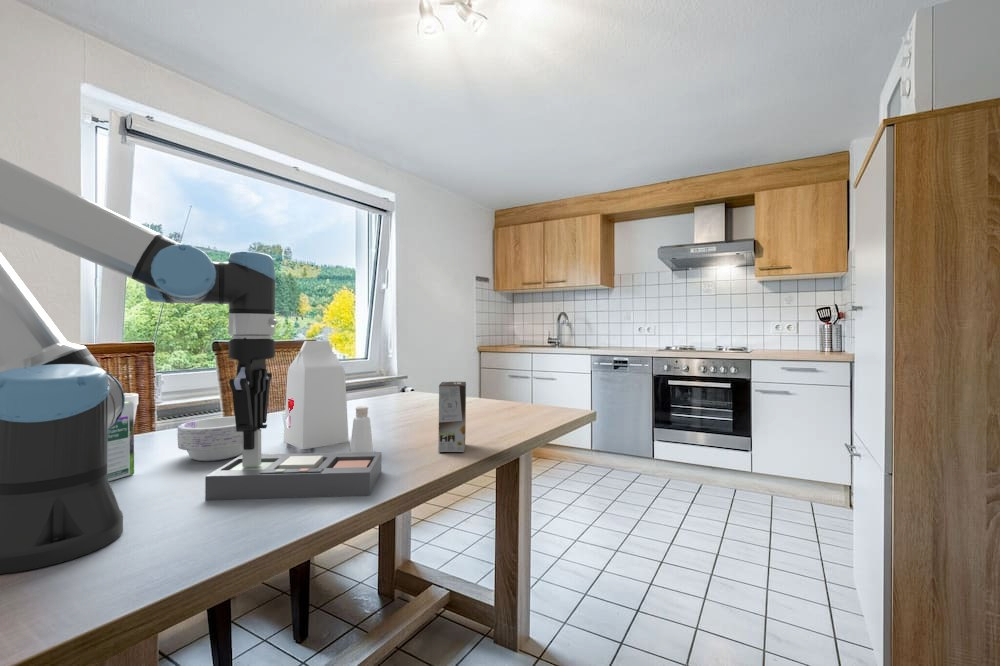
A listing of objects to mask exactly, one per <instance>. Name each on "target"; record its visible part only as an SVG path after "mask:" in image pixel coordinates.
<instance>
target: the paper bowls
mask: <svg viewBox="0 0 1000 666" xmlns="http://www.w3.org/2000/svg"><path fill="white" fill-rule="evenodd" d="M176 435H177V448H178V449H179V450H183V451H186V452H187V454H188V455H189V457H190V458H191V459H192V460H195V461H198V462H199V461H201V462H214V461H215V462H216V461H222V460H228V459H232V458H235V457H236V458H237V457H239V456H241V455H242V432H237V431H236V422H235V415H234V416H219V417H217V416H216V417H210V418H203V419H195V420H192V421H187V422H184V423H182V424H179V425H178V426H177V434H176Z"/></svg>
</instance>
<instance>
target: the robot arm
mask: <svg viewBox="0 0 1000 666" xmlns="http://www.w3.org/2000/svg"><path fill="white" fill-rule="evenodd" d="M0 224H1V225H3V226H5V227H8V228H10V229H13V230H15V231H17V232H20V233H22V234H24V235H26V236H30V237H32V238H34V239H36V240H39V241H41V242H44V243H46V244H48V245H51V246H53V247H56V248H58V249H60V250H63V251H65V252H68V253H70V254H73V255H75V256H77V257H79V258H81V259H84V260H87V261H89V262H91V263H94V264H96V265H98V266H100V267H103V268H105V269H108V270H110V271H113V272H115V273H117V274H119V275H122V276H124V277H126V278H129V279H132V280H133V281H136V282H138V283H139V284H142V285H144V291H145V292H144V293H145V296H146V298H147V299H148V300H149V301H150V302H155V303H164V304H165V303H166V304H170V305H172V304H199V305H200V304H204V305H205V304H206V305H207V304H209V305H211V304H216V305H228V308H229V309H228V333H227V334H228V335H229V336H231V338H230V339H229V340H228V358H229V359H230V360H236V361H237V366H236V377H235V378H234V377H232V378H231V377H230V379H229V380H228V381H229V387H230V389H231V393H232V402H233V404H232V405H233V410H234V411H233V412H234V416H235V422H236V431H237V432H242V454H241V455H242V467H258V466H260V465H261V454H262V429H267V427H268V424H266V423H267V420H268V418H267V417H268V408H269V407H268V406H269V397H270V396H269V395H270V388H271V387H270V386H271V382H272V377H273V374H272V372H270V371H269V372H268V369H267V364H266V360H272V359H273V358H275V357H276V351H275V350H276V340H275V339H274V338H272V336H274V335H275V332H276V331H275V329H276V326H275V325H277V324H278V320H277V319H275V318H276V314H275V313H276V311H275V310H276V280H277V279H276V273H275V261H274V258H273V257H272V256H271V255H269V254H266V253H263V252H257V251H242V250H239V251H232V252H230V254H229V256H228V259H227V261H218V262H217V261H213V260H212V258H211V257H209V256H208V255H207V253H206V252H204V251H203V250H201V249H200V248H198V247H196V246H193V245H189V244H182V243H180V242H179V241H178V242H177V241H176V240H173V239H172V238H169V237H166V236H165V235H162V234H160V232H157V231H155V230H153V229H151V228H148V227H147V226H144V225H142V224H140V223H138V222H137V221H134V220H131V219H129V218H127V217H126V216H123V215H122V214H119V213H117V212H115V211H113V210H111V209H108V208H107V207H104V206H103V205H100V204H98V203H96V202H94V201H92V200H90V199H87V198H85V197H84V196H81V195H80V194H77V193H75V192H73V191H71V190H69V189H67V188H65V187H62V186H60V185H59V184H57V183H54V182H52V181H50V180H48V179H46V178H44V177H41V176H39V175H37V174H35V173H33V172H31V171H29V170H27V169H24V168H23V167H21V166H19V165H16V164H15V163H12V162H11V161H7V160H6V159H4V158H2V157H0ZM124 405H125V396H124V389H123V387H122V384H121V383H120V381H119V380H118V379H117V378H116V377H115V376H113V374H110V373H108V372H107V371H106V370H104V369H103V367H102V366H101V365H100V363H99V362H98V361H97V359H96V357H94V355H93V354H92V353H91V352H90V350H89V349H88V347H86V346H85V345H82V344H78V343H73V342H70V341H68V340H67V339H66V337H65V336H64V335H63V334H62V332H61V331H60V330H59V328H58V327H57V326H56V324H55V323H54V322H53V320H52V319H51V317H50V316H49V315H48V313H46V311H45V310H44V308H43V307H42V305H41V304H40V303H39V302H38V300H37V299H36V297H34V295H33V294H32V292H31V291H30V290H29V289H28V287H27V285H25V283H24V281H22V279H21V278H20V277H19V275H18V274H17V272H16V271H15V270H14V268H13V267H12V265H10V263H9V262H8V260H7V259H6V258H5V256H4V255H3V254H2V252H1V251H0V574H9V573H17V572H24V571H29V570H34V569H40V568H43V567H48V566H53V565H57V564H61V563H63V562H67V561H71V560H74V559H77V558H79V557H82V556H84V555H88V554H90V553H92V552H96V551H97V550H99V549H102V548H104V547H106V546H108V545H109V544H111V543H112V542H115V541H116V540H117V539H119V537H120V536H121V535H122V534H123V533H124V515H123V512H122V510H121V508H120V506H119V503H118V500H117V498H116V496H115V494H114V490H113V488H112V485H111V484H110V481H108V478H107V452H108V431H109V430H110V429H111V428H112V427H113V426H114V425H115V424H116V423H117V421H118V420H119V418H120V417H121V415H122V412H123V409H124Z"/></svg>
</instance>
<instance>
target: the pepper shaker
mask: <svg viewBox="0 0 1000 666" xmlns="http://www.w3.org/2000/svg"><path fill="white" fill-rule="evenodd" d="M368 410H369V407H368V406H364V405H362V406H361V405H360V406H357V407H355V417H354V418H353V421H352V429H351V437H350V438H351V439H350V447H349V453H353V452H374V448H373V447H374V446H373V436H372V435H373V434H372V426H371V418H370V416H368V414H369V411H368Z"/></svg>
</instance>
